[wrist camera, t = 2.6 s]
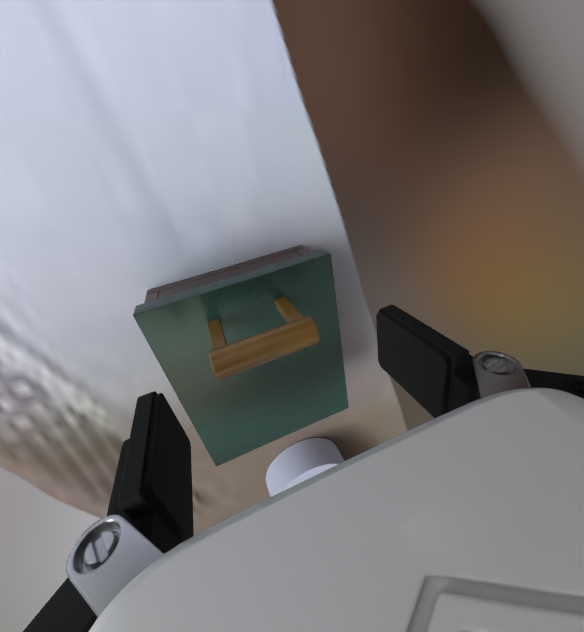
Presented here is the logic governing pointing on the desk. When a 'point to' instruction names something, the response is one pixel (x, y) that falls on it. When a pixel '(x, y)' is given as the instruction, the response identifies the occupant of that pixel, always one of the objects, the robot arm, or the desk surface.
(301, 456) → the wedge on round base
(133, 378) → the desk surface
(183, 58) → the desk surface
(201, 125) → the desk surface
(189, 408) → the panel with handle
